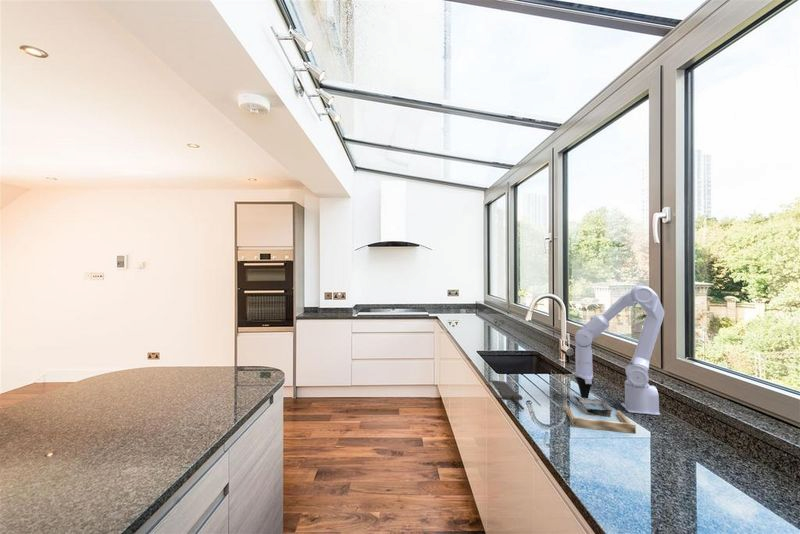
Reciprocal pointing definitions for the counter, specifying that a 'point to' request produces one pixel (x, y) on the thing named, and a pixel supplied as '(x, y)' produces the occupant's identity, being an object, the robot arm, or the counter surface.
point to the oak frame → (603, 423)
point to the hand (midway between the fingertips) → (584, 397)
